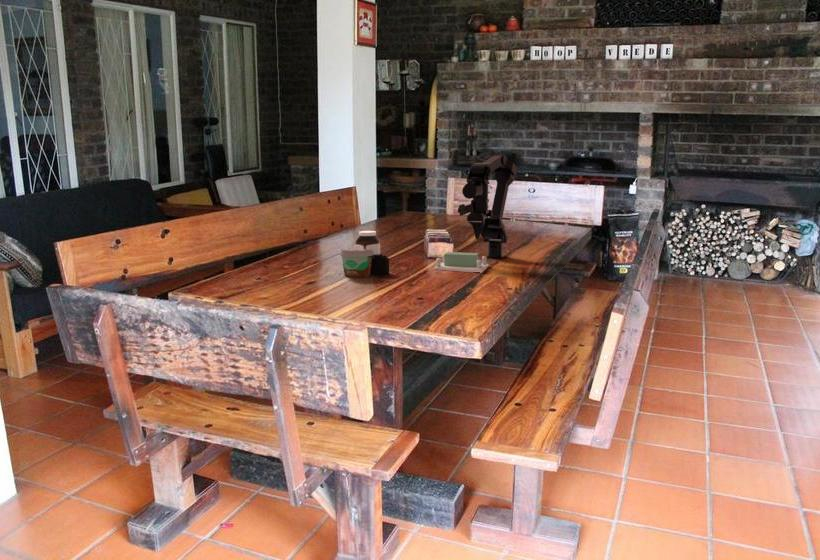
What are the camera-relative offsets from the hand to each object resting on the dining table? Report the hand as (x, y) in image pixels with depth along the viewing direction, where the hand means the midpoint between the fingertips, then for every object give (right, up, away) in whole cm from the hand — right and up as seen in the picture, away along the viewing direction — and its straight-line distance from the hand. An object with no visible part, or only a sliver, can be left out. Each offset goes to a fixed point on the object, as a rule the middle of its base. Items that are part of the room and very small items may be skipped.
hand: (479, 237), depth 281 cm
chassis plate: (-7, -12, -5) cm, 15 cm away
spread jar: (-45, -9, +17) cm, 49 cm away
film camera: (-42, -14, -13) cm, 46 cm away
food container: (-46, -16, -20) cm, 53 cm away
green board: (-7, -11, -5) cm, 14 cm away
